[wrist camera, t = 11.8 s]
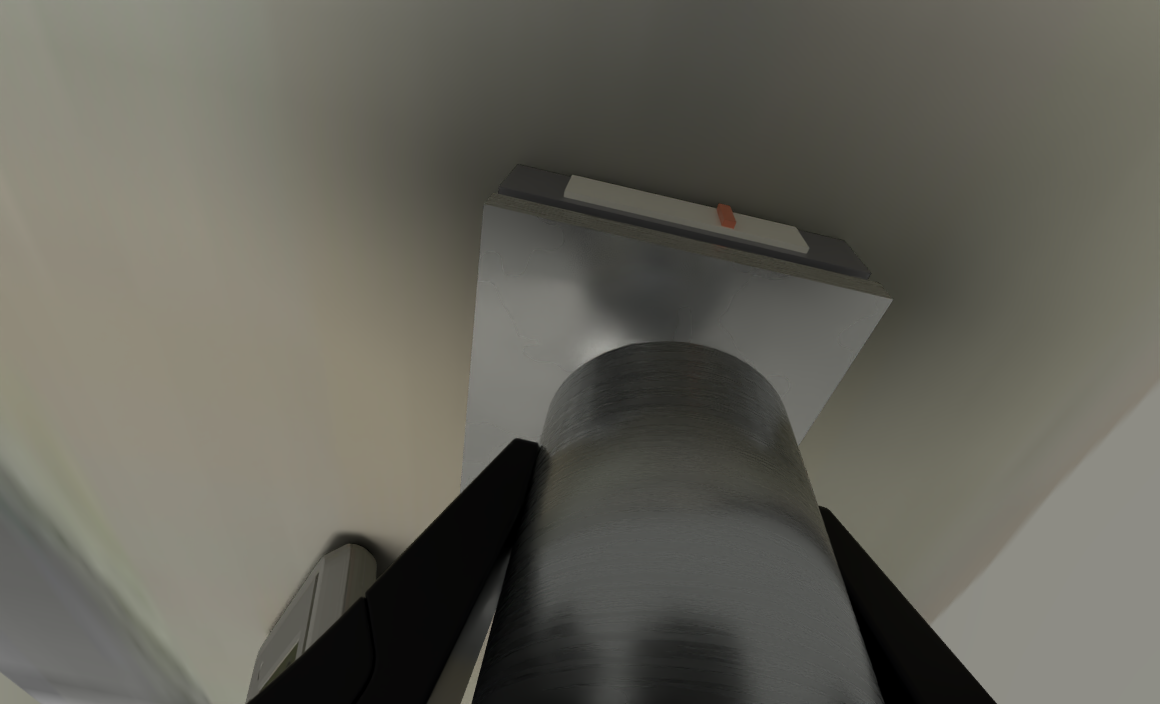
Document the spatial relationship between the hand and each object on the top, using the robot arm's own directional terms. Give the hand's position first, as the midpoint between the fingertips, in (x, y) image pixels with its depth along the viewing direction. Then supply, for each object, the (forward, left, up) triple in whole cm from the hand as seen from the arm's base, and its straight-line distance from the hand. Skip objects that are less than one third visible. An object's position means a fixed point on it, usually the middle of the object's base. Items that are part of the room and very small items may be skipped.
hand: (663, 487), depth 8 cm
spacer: (0, 0, -1) cm, 1 cm away
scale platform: (-3, 0, -5) cm, 6 cm away
